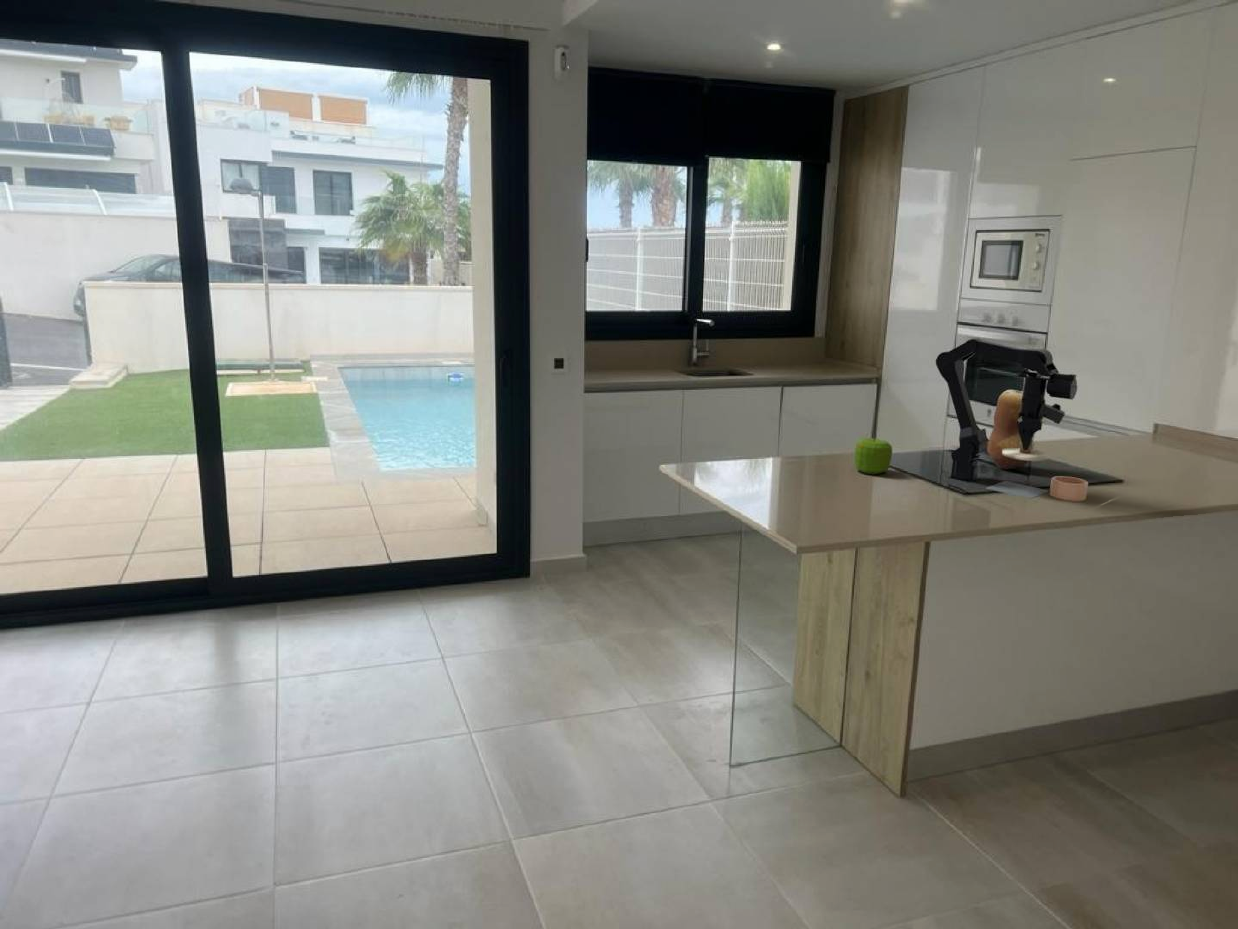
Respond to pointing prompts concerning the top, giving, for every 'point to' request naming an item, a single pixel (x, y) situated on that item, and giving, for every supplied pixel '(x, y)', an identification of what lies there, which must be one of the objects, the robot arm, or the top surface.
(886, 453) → the apple
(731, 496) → the top surface
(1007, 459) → the butternut squash
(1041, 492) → the mat
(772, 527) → the top surface
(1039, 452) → the lid
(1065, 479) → the bowl
